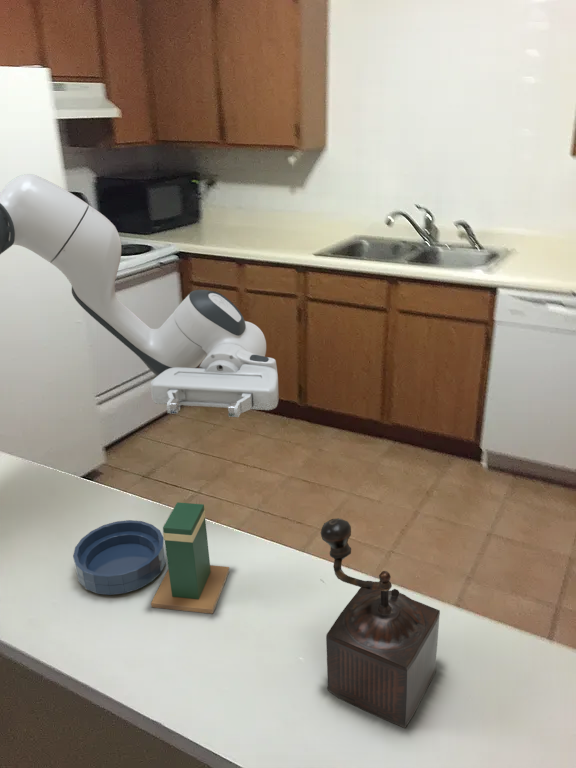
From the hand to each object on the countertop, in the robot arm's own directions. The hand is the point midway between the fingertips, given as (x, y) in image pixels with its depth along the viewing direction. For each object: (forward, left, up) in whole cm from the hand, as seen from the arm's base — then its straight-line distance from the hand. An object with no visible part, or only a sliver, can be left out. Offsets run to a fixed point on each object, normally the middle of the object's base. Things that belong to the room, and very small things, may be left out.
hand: (201, 411), depth 99 cm
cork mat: (0, -12, -23) cm, 26 cm away
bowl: (-12, -9, -23) cm, 27 cm away
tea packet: (0, -12, -22) cm, 25 cm away
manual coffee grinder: (+26, -23, -23) cm, 42 cm away
